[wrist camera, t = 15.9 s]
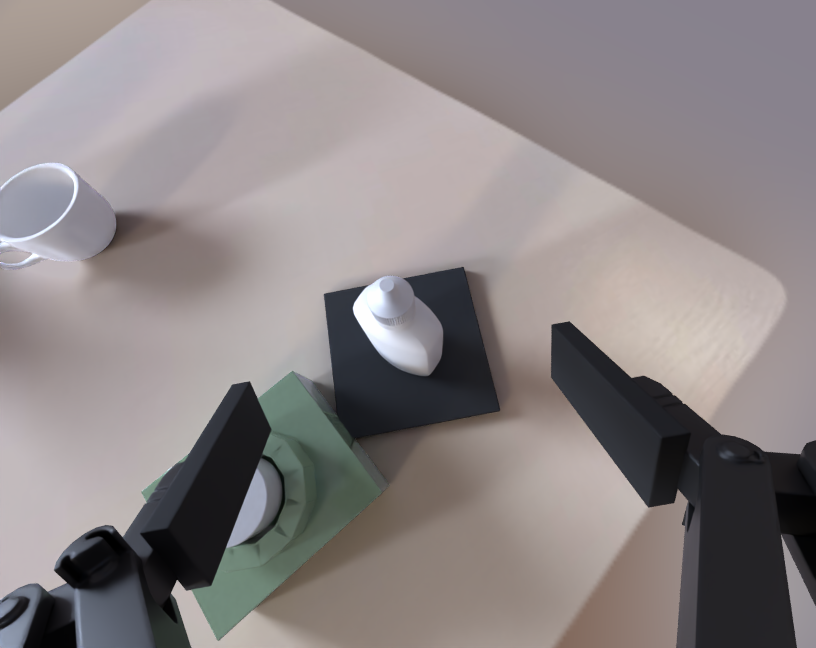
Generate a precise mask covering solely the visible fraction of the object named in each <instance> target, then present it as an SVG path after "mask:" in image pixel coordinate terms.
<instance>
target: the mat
mask: <svg viewBox="0 0 816 648" xmlns="http://www.w3.org/2000/svg"><path fill="white" fill-rule="evenodd" d="M404 279H405V281H407V282H408V283H409V284H410V286H411V288H412V290H413V292H414V296H415V297H417V298H418V299H419V300H421V301H422V302H423V303H424V304H425V305H426V306H427V307H428V308H429V309H430V310H431V311H432V312H433V313H434V314H435V316H436V317H437V319H438V320H439V322H440V323H441V325H442V329H443V346H442V356H441V359H440V361H439V363H438V364H437V366H436V367H435V369H434V370H433V372H432V373H431V374H430V375H429V376H419V375H414V374H410V373H407V372H405V371H402V370H400V369H398V368H397V367H395V366H393V365H392V364H390V363H389V362H388V361H387V360H385V359H384V358H383V357H382V356H381V355H380V354H379V352H378V351H377V350H376V349H375V347H374V346H373V344H372V343H371V341H370V340H369V338H368V337H367V335H366V333H365V332H364V330H363V329H362V327H361V325H360V324H359V322H358V320H357V318H356V317H355V315H354V311H353V307H354V303H355V302H356V300H357V298H358V297H359V296H360V294H361V293H362V292H363V290H364V289H365V288H366V287H368V286H369V285H367V286H362V287H357V288H352V289H347V290H342V291H337V292H331V293H326V294H324V300H325V309H326V318H327V326H328V335H329V344H330V353H331V362H332V371H333V380H334V389H335V398H336V407H337V416H338V419H339V420H340V421H341V423H342V424H343V425H344V427H345V428H346V429H347V431H348V432H349V433H350V435H351V436H352V437H353V438H354V439H355V438H360V437H366V436H371V435H376V434H382V433H387V432H392V431H397V430H403V429H408V428H413V427H419V426H424V425H429V424H434V423H440V422H445V421H450V420H455V419H461V418H466V417H471V416H477V415H482V414H487V413H492V412H498V411H500V407H499V404H498V400H497V396H496V392H495V388H494V384H493V380H492V376H491V372H490V368H489V364H488V361H487V357H486V353H485V349H484V345H483V341H482V337H481V333H480V329H479V325H478V321H477V318H476V314H475V310H474V306H473V302H472V298H471V294H470V290H469V286H468V282H467V279H466V275H465V271H464V267H460V268H455V269H450V270H445V271H440V272H434V273H429V274H424V275H419V276H414V277H409V278H404Z"/></svg>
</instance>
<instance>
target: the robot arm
mask: <svg viewBox="0 0 816 648" xmlns="http://www.w3.org/2000/svg"><path fill="white" fill-rule="evenodd" d="M551 378H552V379H553V381H554V382H555V383H556V385H557V386H558V387H559V389H560V390H561V391H562V393H563V394H564V395H565V397H566V398H567V399H568V401H569V402H570V403H571V405H572V406H573V407H574V409H575V410H576V411H577V413H578V414H579V415H580V417H581V418H582V419H583V421H584V422H585V423H586V425H587V426H588V427H589V429H590V430H591V431H592V433H593V434H594V435H595V437H596V438H597V439H598V441H599V442H600V443H601V445H602V446H603V447H604V449H605V450H606V451H607V453H608V454H609V456H610V457H611V458H612V460H613V461H614V462H615V464H616V465H617V466H618V468H619V469H620V470H621V472H622V473H623V474H624V476H625V477H626V478H627V480H628V481H629V482H630V484H631V485H632V486H633V488H634V489H635V490H636V492H637V493H638V494H639V496H640V497H641V498H642V500H643V501H644V502H645V504H646V505H647V506H648V508H649V507H654V506H660V505H665V504H671V503H674V501H675V498H676V494H677V490H678V489H679V490H680V492H681V493H682V494H683V495H684V496H685V497H686V499H687V500H688V504H687V507H686V511H685V515H684V519H683V522H682V525H684V526H685V534H684V548H683V549H684V550H683V562H682V575H681V589H680V603H679V618H678V632H677V645H676V648H797V645H796V639H795V631H794V624H793V617H792V611H791V603H790V596H789V589H788V582H787V575H786V567H785V561H784V553H783V547H782V539H781V535H782V537H783V539H784V541H785V543H786V545H787V547H788V549H789V551H790V553H791V555H792V558H793V560H794V562H795V564H796V566H797V568H798V570H799V572H800V574H801V576H802V578H803V581H804V583H805V585H806V587H807V589H808V591H809V593H810V595H811V597H812V599H813V601H814V604H815V606H816V441H812V442H809V443H807V444H806V445H805V447H804V449H803V450H802V453H801V454H788V453H773V452H764V451H762V450H761V449H760V448H759V447H757V446H756V445H754V444H752V443H750V442H749V441H747V440H744V439H741V438H738V437H735V436H729V435H721V434H720V433H719V432H718V431H717V430H715V429H714V428H713V427H711V425H709V424H708V423H707V422H706V421H705V420H703V419H702V418H701V417H700V416H699V415H697V414H696V413H695V412H694V411H693V410H692V409H690V408H689V407H688V406H687V405H686V404H683V403H682V401H681V400H680V399H678V398H677V397H676V396H675V395H674V396H673V395H672V393H671V392H670V391H669V390H668V389H666V388H665V387H664V386H663V385H662V384H661V383H659V382H656V381H654V380H652V379H650V378H648V377H646V376H640V377H635V378H631V377H630V376H629V375H628V374H626V373H625V372H624V371H623V370H622V369H621V368H620V367H619V366H618V365H617V364H616V363H614V362H613V361H612V360H611V359H610V358H609V357H608V356H607V355H606V354H605V353H603V352H602V351H601V350H600V349H599V348H598V347H597V346H596V345H595V344H594V343H593V342H591V341H590V340H589V339H588V338H587V337H586V336H585V335H584V334H583V333H582V332H581V331H579V330H578V329H577V328H576V327H575V326H574V325H573V324H572V323H571V322H570V321H569V322H564V323H558V324H553V325H552V343H551ZM271 430H272V429H271V427H270V425H269V422H268V420H267V418H266V416H265V414H264V412H263V409H262V407H261V405H260V403H259V401H258V398H257V396H256V394H255V392H254V390H253V387H252V385H251V383H250V381H249V382H244V383H239V384H233V385H232V386H231V388H230V389H229V391H228V392H227V394H226V396H225V397H224V399H223V400H222V402H221V404H220V405H219V407H218V408H217V410H216V412H215V413H214V415H213V416H212V418H211V420H210V421H209V423H208V424H207V426H206V428H205V429H204V431H203V432H202V434H201V436H200V437H199V439H198V440H197V442H196V444H195V445H194V447H193V448H192V450H191V452H190V453H189V455H188V456H187V458H186V460H185V461H184V462H180V463H176V464H175V465H174V466H173V467H172V468H171V469H170V470H169V471H168V472H167V473H166V474H165V475H164V476H163V477H162V479H161V480H160V482H159V483H158V485H157V486H156V488H155V489H154V490H155V491H154V492H152V494H151V495H150V497H149V498H148V500H147V503H146V504H145V505H144V506H143V508H142V509H141V511H140V512H139V514H138V515H137V517H136V518H135V520H134V521H133V523H132V524H131V526H130V527H129V529H128V530H127V532H126V533H125V535H124V536H123V537H122V536H121V535H120V534H119V533H118V531H117V530H116V529H115V528H114V527H113V526H109V525H105V526H101V527H97V528H95V529H93V530H91V531H89V532H87V533H85V534H84V535H82V536H81V537H79V538H78V539H77V540H75V541H74V542H73V543H72V544H71V545H70V546H69V547H68V548H67V549H66V550H65V551H64V552H63V553H62V555H61V556H60V557H59V559H58V560H57V562H56V565H55V568H54V571H55V572H56V573H57V574H58V575H59V576H60V577H61V578H63V579H64V580H65V581H66V582H67V583H66V584H64V585H62V586H60V587H57V588H55V589H53V590H51V591H49V592H47V591H46V590H45V589H44V588H42V587H41V586H40V585H39V584H28V585H25V586H23V587H20V588H18V589H16V590H15V591H13V592H12V593H10V594H8V595H7V596H5V597H4V598H3V599H1V600H0V648H191V646H190V643H189V640H188V636H187V633H186V630H185V627H184V624H183V621H182V618H181V615H180V611H179V608H178V605H177V602H176V599H175V598H174V597H173V595H172V594H171V592H172V589H173V587H174V585H175V583H176V581H177V580H178V581H179V582H180V583H181V585H182V586H183V587H184V588H185V590H186V591H187V590H192V589H198V588H203V587H209V586H212V583H213V580H214V578H215V575H216V573H217V570H218V567H219V565H220V562H221V560H222V557H223V554H224V552H225V549H226V547H227V544H228V541H229V539H230V536H231V534H232V531H233V528H234V526H235V523H236V521H237V518H238V515H239V513H240V510H241V508H242V505H243V503H244V500H245V497H246V495H247V492H248V490H249V487H250V484H251V482H252V479H253V477H254V474H255V471H256V469H257V466H258V464H259V461H260V458H261V456H262V453H263V451H264V448H265V445H266V443H267V440H268V438H269V435H270V432H271Z"/></svg>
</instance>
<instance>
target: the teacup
mask: <svg viewBox="0 0 816 648" xmlns="http://www.w3.org/2000/svg"><path fill="white" fill-rule="evenodd" d="M115 231H116V218H115V214H114V211H113V209H112V207H111V206H110V204H109V203H108V201H107V200H106V199H105V198H104V197H103V196H101V195H100V194H99V193H98V192H97V191H96V190H95V189H93V188H92V187H91V186H90V185H89V184H88V183H87V182H85V181H84V180H83V179H82V178H81V177H80V176H79V175H78V174H77V173H76V172H74V171H73V170H72V169H71V168H70V167H68V166H66V165H63V164H60V163H43V164H38V165H35V166H32V167H29V168H27V169H25V170H23V171H21V172H19V173H18V174H16V175H15V176H13V177H12V178H11V179H9V180H8V181H7V182H6V183H5V184H4V185H3V186H2V187H1V188H0V240H1V241H3V242H2V243H0V254H1V253H4V252H9V251H21V252H28V253H32V254H33V255H32V256H31V257H29V258H28V259H26V260H25V261H23V262H20V263H16V264H5V263H3V262H1V261H0V268H3V269H6V270H16V269H22V268H25V267H29V266H31V265H34V264H36V263H39V262H41V261H43V260H46V259H51V260H56V261H79V260H84V259H88V258H90V257H93V256H95V255H97V254H98V253H100V252H101V251H102V250H104V249H105V248H106V247H107V246H108V245H109V243H110V242H111V240H112V239H113V237H114V234H115Z"/></svg>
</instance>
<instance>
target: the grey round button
mask: <svg viewBox="0 0 816 648" xmlns="http://www.w3.org/2000/svg"><path fill="white" fill-rule="evenodd" d="M281 502H282V482H281V479H280V476H279V474H278V472H277V470H276V469H275V467H274V466H273V465H272V464H271V463H270V462H268V461H267V460H265V459H263V458H260V461H259V464H258V466H257V469H256V471H255V474H254V477H253V479H252V482H251V484H250V487H249V490H248V492H247V495H246V497H245V500H244V503H243V505H242V508H241V510H240V513H239V515H238V518H237V521H236V523H235V526H234V528H233V531H232V534H231V536H230V539H229V541H228V544H227V547H226V548H230V547H233V546H236V545H238V544H240V543H242V542H244V541H246V540H248V539H250V538H252V537H254V536H256V535H258V534H259V533H261V532H262V531H264V530H265V529H266V528H267V527H268V526H269V525H270V524H271V523H272V521H273V520H274V519H275V517H276V515H277V513H278V511H279V508H280V506H281Z"/></svg>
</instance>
